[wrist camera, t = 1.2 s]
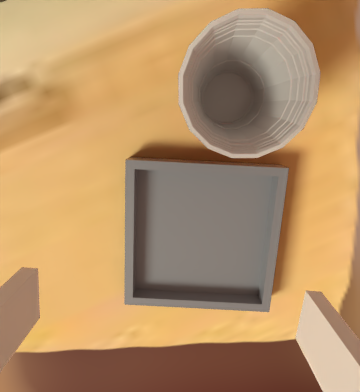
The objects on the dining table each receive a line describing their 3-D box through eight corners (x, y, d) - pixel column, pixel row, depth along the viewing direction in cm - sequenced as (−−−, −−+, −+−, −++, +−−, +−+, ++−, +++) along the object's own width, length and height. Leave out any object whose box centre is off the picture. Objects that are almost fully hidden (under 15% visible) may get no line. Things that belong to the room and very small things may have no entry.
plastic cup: (189, 156, 36) (192, 172, 24) (170, 60, 33) (163, 26, 21) (281, 137, 35) (329, 144, 23) (268, 38, 32) (315, -10, 21)
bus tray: (130, 156, 36) (125, 159, 33) (280, 164, 36) (288, 168, 33) (128, 291, 40) (124, 304, 37) (263, 299, 40) (269, 311, 37)
